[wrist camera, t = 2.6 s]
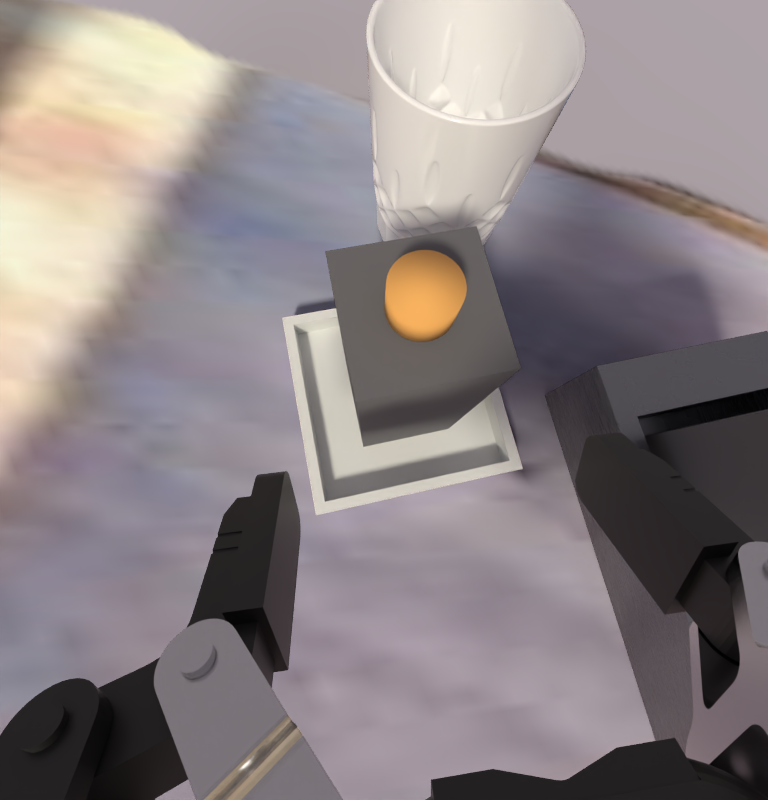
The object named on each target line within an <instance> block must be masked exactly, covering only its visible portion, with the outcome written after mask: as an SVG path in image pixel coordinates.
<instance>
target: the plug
mask: <svg viewBox="0 0 768 800" xmlns="http://www.w3.org/2000/svg"><path fill="white" fill-rule="evenodd" d="M325 252H326V257H327V263H328V268H329V273H330V279H331V284H332V290H333V295H334V300H335V306H336V311H337V316H338V322H339V327H340V333H341V338H342V343H343V349H344V354H345V360H346V365H347V370H348V375H349V380H350V385H351V389H352V394H353V399H354V404H355V409H356V414H357V419H358V424H359V428H360V433H361V438H362V443H363V447H366V446H370V445H375V444H380V443H384V442H389V441H394V440H399V439H403V438H408V437H413V436H417V435H422V434H427V433H432V432H436V431H441V430H446V429H449V428H450V427H451V426H452V425H454V424H455V423H456V422H457V421H458V420H460V419H461V418H462V417H463V416H464V415H466V414H467V413H468V412H469V411H471V410H472V409H473V408H474V407H475V406H477V405H478V404H479V403H480V402H481V401H483V400H484V399H485V398H486V397H487V396H489V395H490V394H491V393H492V392H493V391H495V390H496V389H497V388H498V387H499V386H501V385H502V384H503V383H504V382H505V381H507V380H508V379H509V378H510V377H511V376H513V375H514V374H515V373H516V372H518V371H519V370H520V369H521V367H520V363H519V360H518V357H517V354H516V351H515V347H514V344H513V341H512V338H511V334H510V331H509V328H508V325H507V322H506V318H505V315H504V312H503V309H502V306H501V302H500V299H499V296H498V293H497V290H496V286H495V283H494V280H493V277H492V274H491V270H490V267H489V264H488V261H487V258H486V254H485V251H484V248H483V245H482V241H481V238H480V235H479V232H478V229H477V226H473V227H467V228H461V229H455V230H449V231H443V232H437V233H431V234H425V235H419V236H413V237H407V238H402V239H396V240H390V241H384V242H378V243H372V244H366V245H360V246H354V247H348V248H342V249H336V250H330V251H325Z"/></svg>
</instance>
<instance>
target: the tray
mask: <svg viewBox="0 0 768 800" xmlns="http://www.w3.org/2000/svg"><path fill="white" fill-rule="evenodd" d="M282 319H283V324H284V330H285V336H286V342H287V348H288V354H289V360H290V366H291V371H292V377H293V383H294V389H295V395H296V401H297V407H298V413H299V418H300V424H301V430H302V436H303V442H304V448H305V454H306V460H307V465H308V471H309V477H310V483H311V489H312V495H313V501H314V507H315V512H316V515H319V514H324V513H328V512H333V511H337V510H341V509H346V508H350V507H355V506H359V505H364V504H368V503H372V502H377V501H381V500H386V499H390V498H395V497H399V496H404V495H408V494H412V493H417V492H421V491H426V490H430V489H435V488H439V487H444V486H448V485H452V484H457V483H461V482H466V481H470V480H475V479H479V478H484V477H488V476H492V475H497V474H501V473H506V472H510V471H515V470H519V469H523V468H522V464H521V461H520V458H519V454H518V451H517V447H516V444H515V441H514V437H513V434H512V430H511V427H510V424H509V420H508V417H507V414H506V410H505V407H504V403H503V400H502V397H501V393H500V390H499V387H498V388H497V389H496V390H495V391H493V392H492V393H491V394H490V395H489V396H487V397H486V398H485V399H484V400H483V401H481V402H480V403H479V404H478V405H477V406H475V407H474V408H473V409H472V410H471V411H469V412H468V413H467V414H466V415H464V416H463V417H462V418H461V419H460V420H458V421H457V422H456V423H455V424H454V425H452V426H451V427H450V428H449V429H446V430H441V431H436V432H432V433H427V434H422V435H417V436H413V437H408V438H403V439H399V440H394V441H389V442H384V443H380V444H375V445H370V446H366V447H363V443H362V438H361V433H360V428H359V424H358V419H357V414H356V409H355V404H354V399H353V394H352V389H351V385H350V380H349V375H348V370H347V365H346V360H345V354H344V349H343V343H342V338H341V333H340V327H339V322H338V316H337V311H336V308H333V309H328V310H322V311H317V312H311V313H306V314H300V315H295V316H289V317H284V318H282Z"/></svg>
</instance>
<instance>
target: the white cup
mask: <svg viewBox="0 0 768 800" xmlns="http://www.w3.org/2000/svg"><path fill="white" fill-rule="evenodd" d="M366 40H367V59H368V79H369V101H370V124H371V147H372V160H373V174H374V187H375V193H376V199H377V226H378V229H379V231H380V234H381V236H382V239H383V241H390V240H396V239H402V238H407V237H413V236H419V235H425V234H431V233H437V232H443V231H449V230H455V229H461V228H467V227H473V226H477V229H478V232H479V235H480V238H481V241H482V245H483V246H484V244H485V243H486V241H487V240H488V238H489V236H490V234H491V232H492V230H493V228H494V227H495V225H496V224H497V223H498V222H499V221H500V220H501V218H502V216H503V215H504V213H505V211H506V209H507V207H508V206H509V204H510V203H511V202H512V200H513V198H514V196H515V194H516V193H517V191H518V189H519V187H520V186H521V184H522V182H523V180H524V178H525V177H526V175H527V173H528V171H529V169H530V167H531V166H532V164H533V162H534V160H535V158H536V157H537V155H538V153H539V151H540V149H541V147H542V146H543V144H544V142H545V140H546V138H547V137H548V135H549V133H550V131H551V129H552V127H553V126H554V124H555V122H556V120H557V118H558V116H559V115H560V113H561V111H562V109H563V108H564V106H565V104H566V102H567V100H568V99H569V97H570V95H571V93H572V91H573V89H574V88H575V86H576V84H577V83H578V81H579V79H580V76H581V74H582V71H583V68H584V64H585V57H586V45H585V38H584V34H583V31H582V28H581V25H580V23H579V21H578V18H577V17H576V15H575V13H574V12H573V10H572V9H571V7H570V6H569V5H568V3H567V2H566V1H565V0H376V1H375V3H374V4H373V6H372V9H371V11H370V14H369V17H368V21H367V28H366Z"/></svg>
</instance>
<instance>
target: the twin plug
mask: <svg viewBox="0 0 768 800" xmlns="http://www.w3.org/2000/svg"><path fill="white" fill-rule="evenodd" d="M645 439H646V442H647V444H648V447H649V450H650V452H651V453H652V454H654V455H655V456H657V457H659V458H661V459H663V460H665V461H666V462H667V463H668V464H669V465H670V466H671V467H672V468H673V469H675V470H676V471H677V472H678V473H679V474H680V475H681V478H682V479H684V478H685V479H686V480H687V481H688V482H689V483H690V484H691V485H692V486H694V487H695V490H696V491H699V492H700V493H701V494H702V495H704V496H705V497H706V498H707V499H708V500H709V501H710V502H711V503H712V504H714V505H715V506H716V507H717V508H718V509H719V510H720V511H721V512H723V513H724V514H725V515H726V516H727V517H728V518H729V519H730V520H731V521H733V522H734V523H735V524H736V525H737V526H738V527H739V528H740V529H741V530H743V531H744V532H745V533H746V534H747V535H748V536H749V537H750V538H752V539H753V540H754V541H755V542H767V543H768V409H766V410H761V411H757V412H752V413H747V414H742V415H738V416H733V417H728V418H724V419H719V420H714V421H710V422H705V423H700V424H695V425H691V426H686V427H682V428H677V429H673V430H668V431H664V432H659V433H655V434H650V435H646V436H645Z"/></svg>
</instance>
